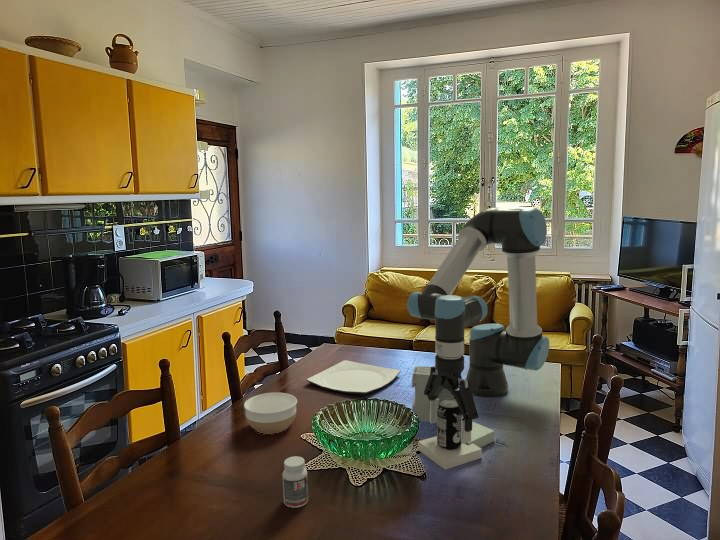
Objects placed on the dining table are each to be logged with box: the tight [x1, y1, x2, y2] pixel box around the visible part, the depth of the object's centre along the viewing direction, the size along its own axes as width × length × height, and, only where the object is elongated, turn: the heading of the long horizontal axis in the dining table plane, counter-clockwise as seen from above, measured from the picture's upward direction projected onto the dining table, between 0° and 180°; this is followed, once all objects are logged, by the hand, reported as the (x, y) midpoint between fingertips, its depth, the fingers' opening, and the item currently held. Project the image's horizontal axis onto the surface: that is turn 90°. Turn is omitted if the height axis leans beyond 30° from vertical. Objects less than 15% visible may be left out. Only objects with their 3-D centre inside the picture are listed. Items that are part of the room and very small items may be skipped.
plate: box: [306, 359, 402, 395], centre depth 199 cm, size 29×29×3 cm
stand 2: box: [466, 421, 495, 449], centre depth 149 cm, size 11×11×3 cm
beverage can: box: [436, 398, 463, 450], centre depth 141 cm, size 7×7×12 cm
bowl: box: [243, 392, 298, 435], centre depth 161 cm, size 16×16×8 cm
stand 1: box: [417, 435, 483, 471], centre depth 142 cm, size 12×12×2 cm
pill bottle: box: [281, 455, 309, 509], centre depth 121 cm, size 6×6×10 cm
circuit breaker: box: [411, 365, 455, 423], centre depth 164 cm, size 8×14×15 cm, turn 78°
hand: (449, 431), depth 141 cm, fingers open, 13 cm apart
